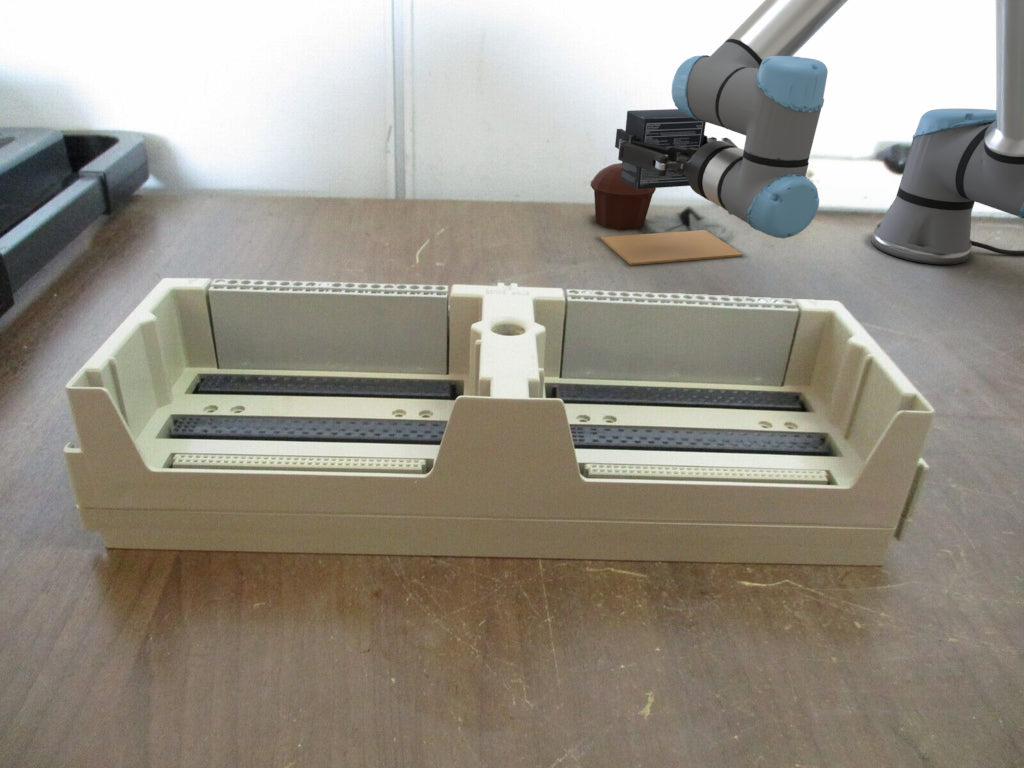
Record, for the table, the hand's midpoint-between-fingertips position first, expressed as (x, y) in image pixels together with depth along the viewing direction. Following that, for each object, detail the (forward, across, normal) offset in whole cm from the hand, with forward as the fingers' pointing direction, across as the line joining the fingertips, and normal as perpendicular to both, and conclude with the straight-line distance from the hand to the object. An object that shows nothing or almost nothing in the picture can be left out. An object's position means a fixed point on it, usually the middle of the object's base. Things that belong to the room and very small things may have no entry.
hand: (651, 136), depth 119 cm
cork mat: (-3, +5, -18) cm, 18 cm away
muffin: (+11, +2, -18) cm, 21 cm away
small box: (-4, 0, -6) cm, 7 cm away
